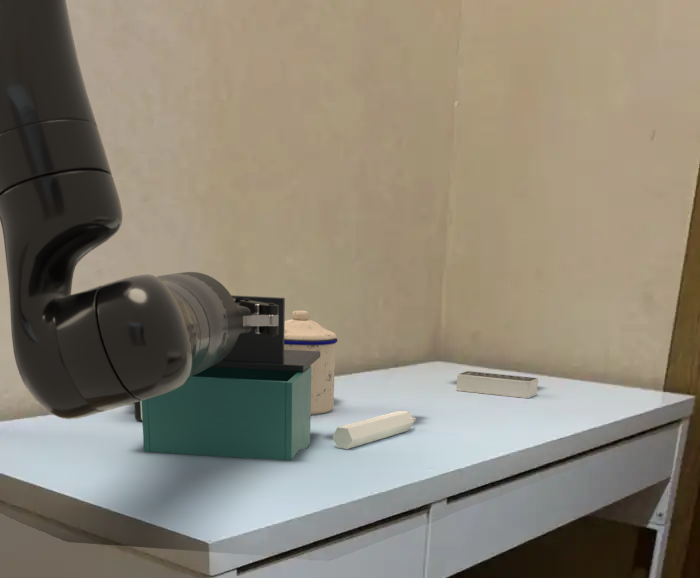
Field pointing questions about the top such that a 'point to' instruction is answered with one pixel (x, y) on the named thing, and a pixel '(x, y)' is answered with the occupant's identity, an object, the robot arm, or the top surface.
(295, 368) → the box lid
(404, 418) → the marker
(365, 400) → the top surface
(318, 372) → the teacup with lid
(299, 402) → the storage box
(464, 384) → the multiport hub
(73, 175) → the robot arm
